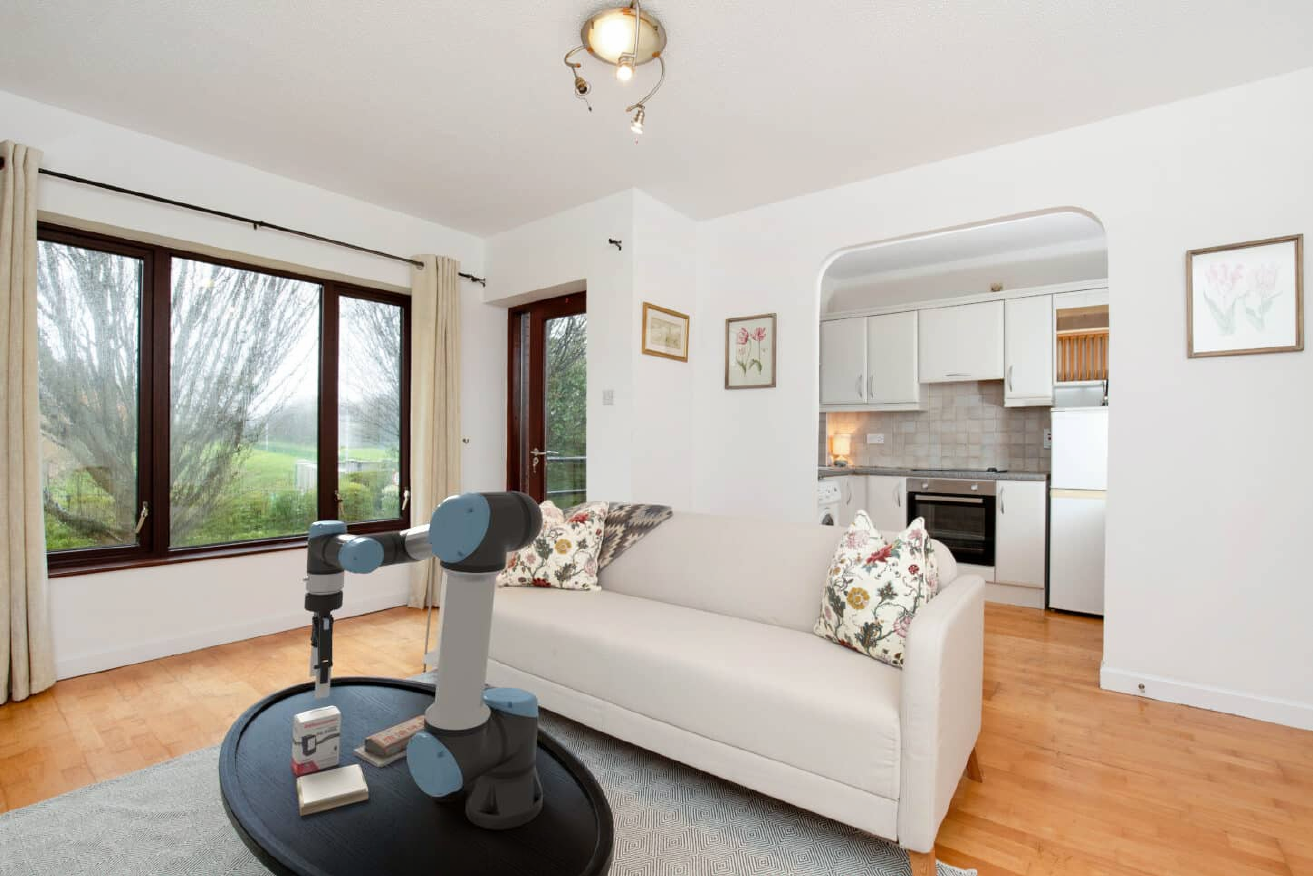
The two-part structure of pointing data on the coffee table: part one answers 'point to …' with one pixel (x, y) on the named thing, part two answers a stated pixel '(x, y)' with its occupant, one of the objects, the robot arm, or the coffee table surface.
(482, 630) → the robot arm
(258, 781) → the coffee table surface
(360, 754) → the packaged product
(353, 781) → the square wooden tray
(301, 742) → the ink box
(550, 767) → the coffee table surface
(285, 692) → the coffee table surface
